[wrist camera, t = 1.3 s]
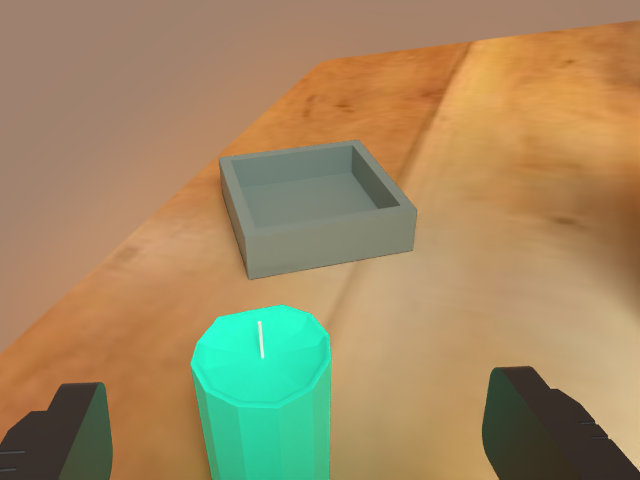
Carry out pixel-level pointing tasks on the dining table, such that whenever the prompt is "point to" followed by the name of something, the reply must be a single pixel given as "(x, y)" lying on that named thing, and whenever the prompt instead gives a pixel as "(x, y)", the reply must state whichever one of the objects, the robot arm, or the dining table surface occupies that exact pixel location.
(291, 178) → the tray
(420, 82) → the dining table surface
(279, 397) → the candle
